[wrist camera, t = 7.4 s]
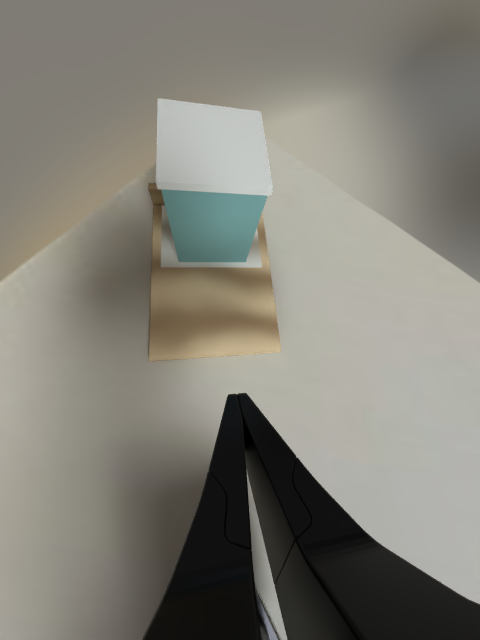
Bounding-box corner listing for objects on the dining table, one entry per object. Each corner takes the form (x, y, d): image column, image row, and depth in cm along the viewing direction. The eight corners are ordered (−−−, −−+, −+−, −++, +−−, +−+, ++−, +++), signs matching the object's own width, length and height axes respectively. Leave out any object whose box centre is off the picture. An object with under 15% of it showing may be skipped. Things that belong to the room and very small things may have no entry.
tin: (247, 263, 26) (273, 189, 16) (176, 263, 24) (155, 181, 14) (241, 208, 28) (260, 111, 18) (176, 204, 27) (158, 98, 17)
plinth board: (279, 352, 24) (289, 348, 21) (150, 361, 22) (141, 358, 19) (260, 209, 29) (265, 190, 26) (154, 203, 27) (148, 183, 24)
